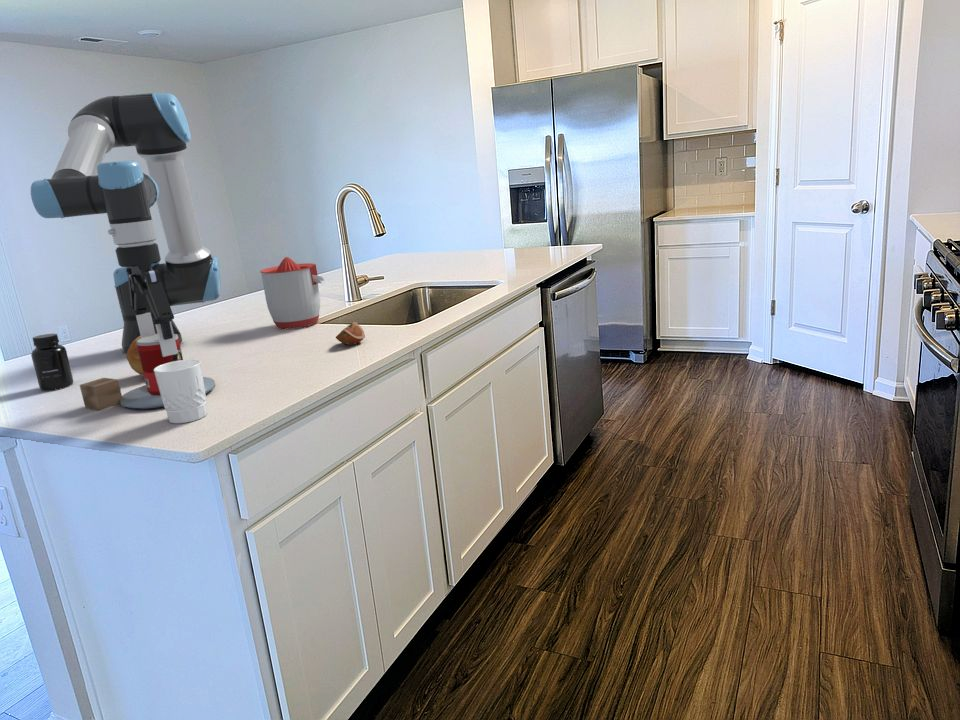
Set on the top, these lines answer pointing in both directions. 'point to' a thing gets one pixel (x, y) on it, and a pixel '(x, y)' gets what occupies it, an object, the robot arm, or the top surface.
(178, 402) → the white cup
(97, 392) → the walnut block
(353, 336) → the fruit slice
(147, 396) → the plate
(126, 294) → the robot arm
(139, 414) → the top surface
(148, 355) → the canned food
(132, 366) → the onion
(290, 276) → the citrus juicer
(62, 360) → the supplement bottle
